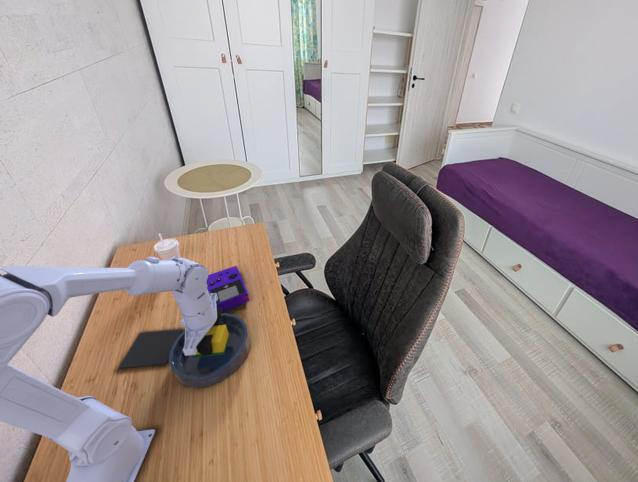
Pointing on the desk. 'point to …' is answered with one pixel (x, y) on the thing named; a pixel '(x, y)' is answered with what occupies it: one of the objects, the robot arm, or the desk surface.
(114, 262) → the desk surface
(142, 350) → the mat
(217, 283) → the handheld gaming console
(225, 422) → the desk surface
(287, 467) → the desk surface
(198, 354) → the sponge
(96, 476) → the robot arm
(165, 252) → the smoothie
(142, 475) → the desk surface
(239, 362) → the bowl
